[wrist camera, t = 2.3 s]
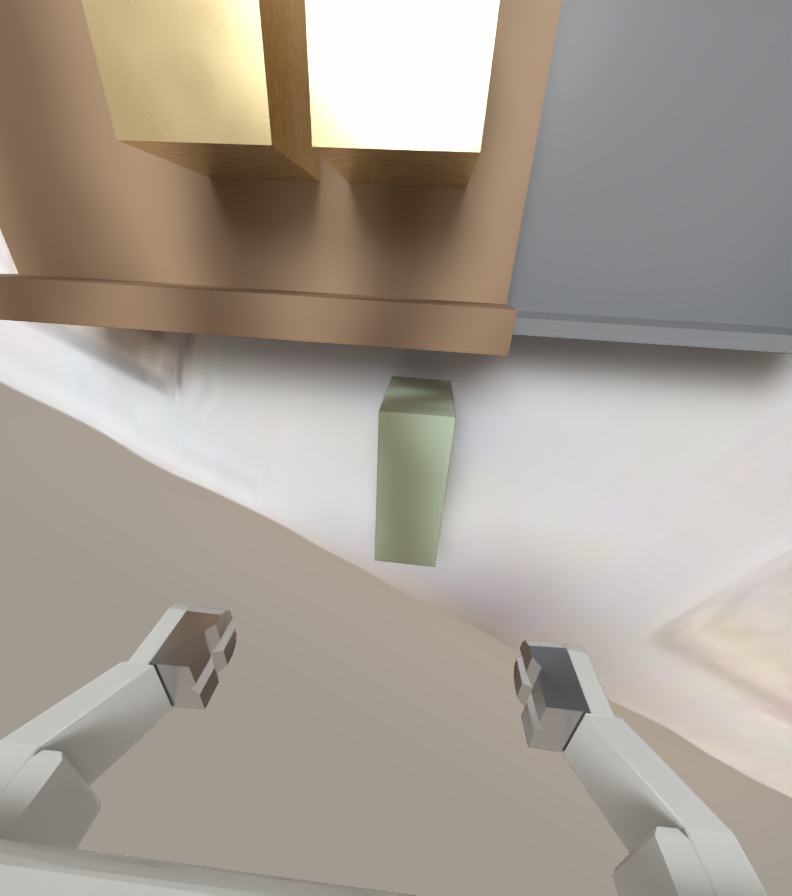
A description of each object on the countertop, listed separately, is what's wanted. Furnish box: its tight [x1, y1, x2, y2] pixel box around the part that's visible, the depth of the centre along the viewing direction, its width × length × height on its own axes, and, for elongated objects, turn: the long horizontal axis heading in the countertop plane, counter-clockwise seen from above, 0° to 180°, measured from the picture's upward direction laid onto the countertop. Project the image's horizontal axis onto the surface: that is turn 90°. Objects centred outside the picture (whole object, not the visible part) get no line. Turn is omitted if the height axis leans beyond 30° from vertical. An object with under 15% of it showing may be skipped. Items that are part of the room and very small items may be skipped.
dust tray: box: [506, 0, 792, 353], centre depth 11 cm, size 13×13×4 cm
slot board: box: [0, 0, 562, 356], centre depth 12 cm, size 20×14×5 cm
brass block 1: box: [82, 0, 320, 182], centre depth 9 cm, size 4×4×4 cm
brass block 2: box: [305, 0, 500, 188], centre depth 9 cm, size 4×4×4 cm
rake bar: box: [375, 377, 456, 567], centre depth 18 cm, size 3×8×5 cm, turn 177°
